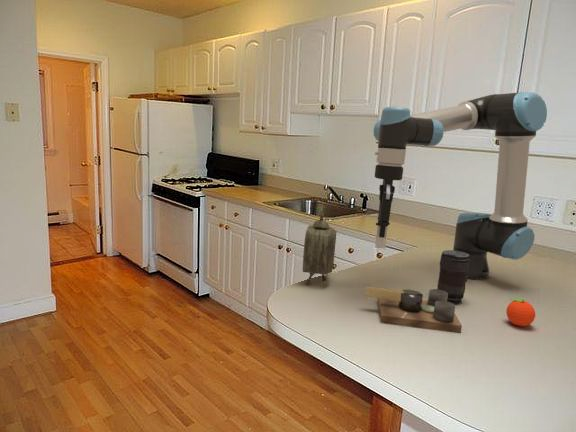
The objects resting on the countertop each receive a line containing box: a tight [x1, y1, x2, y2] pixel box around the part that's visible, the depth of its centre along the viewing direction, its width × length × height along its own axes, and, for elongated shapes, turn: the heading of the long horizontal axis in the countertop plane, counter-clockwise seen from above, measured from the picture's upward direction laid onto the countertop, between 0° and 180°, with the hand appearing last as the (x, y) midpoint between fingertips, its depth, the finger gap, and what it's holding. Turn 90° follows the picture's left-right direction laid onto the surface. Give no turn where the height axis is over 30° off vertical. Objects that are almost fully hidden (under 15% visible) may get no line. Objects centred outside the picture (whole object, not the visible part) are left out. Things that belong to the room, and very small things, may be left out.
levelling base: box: [377, 288, 463, 334], centre depth 115 cm, size 20×15×6 cm
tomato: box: [505, 298, 536, 327], centre depth 114 cm, size 8×7×7 cm
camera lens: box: [436, 249, 469, 305], centre depth 128 cm, size 8×8×15 cm
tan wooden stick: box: [365, 285, 424, 312], centre depth 116 cm, size 15×6×4 cm, turn 81°
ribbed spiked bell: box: [302, 205, 338, 286], centre depth 137 cm, size 14×9×25 cm, turn 170°
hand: (380, 247), depth 120 cm, fingers closed
